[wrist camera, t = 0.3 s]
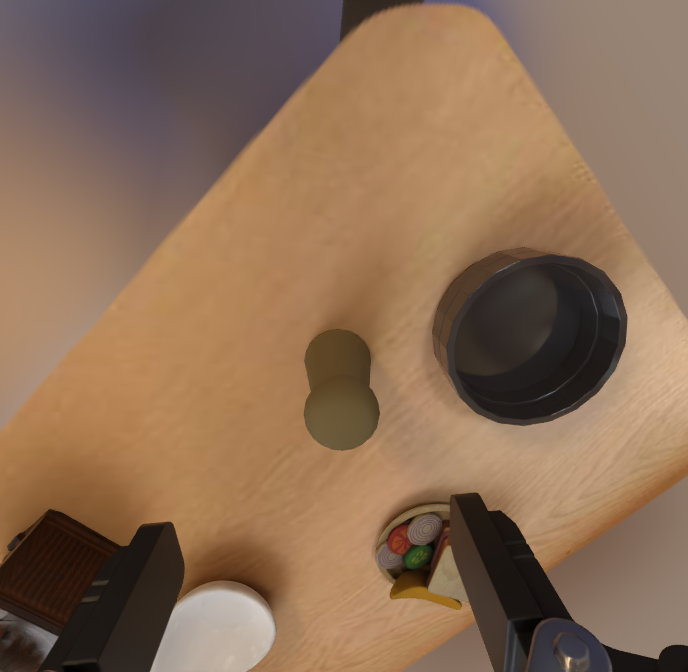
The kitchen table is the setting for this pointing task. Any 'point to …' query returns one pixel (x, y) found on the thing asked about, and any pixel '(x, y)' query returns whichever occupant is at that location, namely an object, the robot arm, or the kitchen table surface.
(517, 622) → the robot arm
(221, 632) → the spoon rest
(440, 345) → the dark grey bowl
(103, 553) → the dark brown coffee grinder
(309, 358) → the cork
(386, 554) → the toy sandwich meal
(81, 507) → the kitchen table surface
